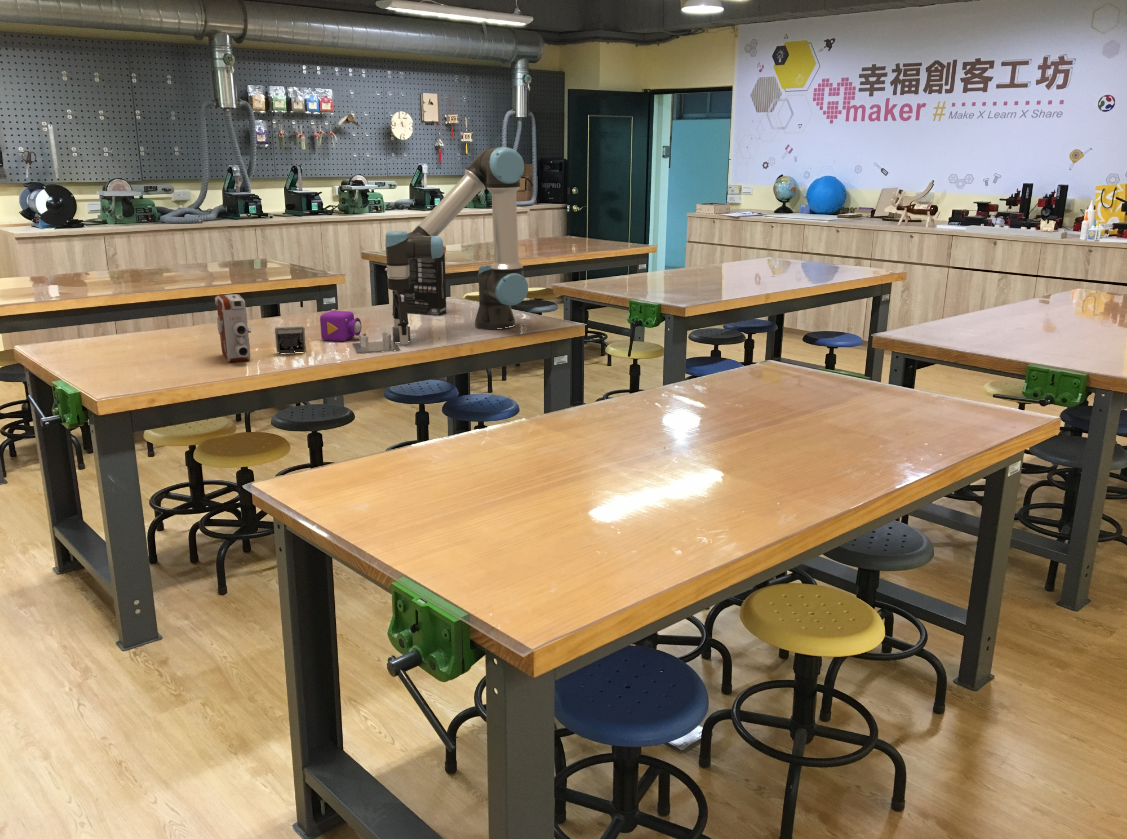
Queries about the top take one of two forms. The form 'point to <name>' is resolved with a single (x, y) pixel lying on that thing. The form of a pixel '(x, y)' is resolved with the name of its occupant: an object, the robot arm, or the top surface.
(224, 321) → the cine camera
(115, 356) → the top surface
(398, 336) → the dark grey cylinder
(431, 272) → the graphics card box
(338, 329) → the toy camera
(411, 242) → the robot arm
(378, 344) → the grey square plate
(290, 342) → the electrical switch
